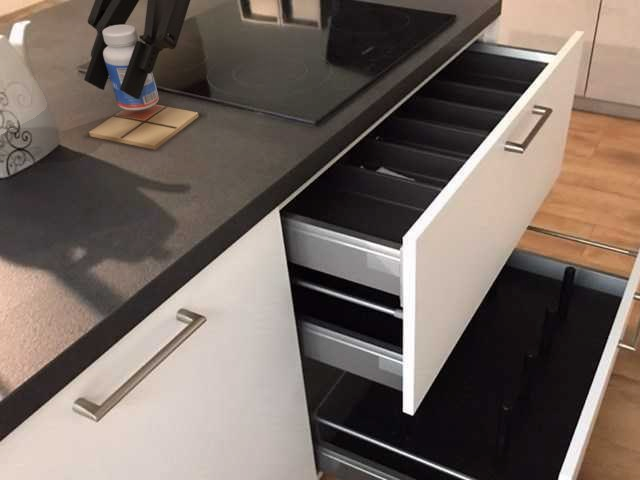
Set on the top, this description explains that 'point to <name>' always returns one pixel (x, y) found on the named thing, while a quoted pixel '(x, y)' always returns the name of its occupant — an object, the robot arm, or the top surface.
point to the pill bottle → (125, 67)
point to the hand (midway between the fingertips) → (111, 89)
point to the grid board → (144, 126)
